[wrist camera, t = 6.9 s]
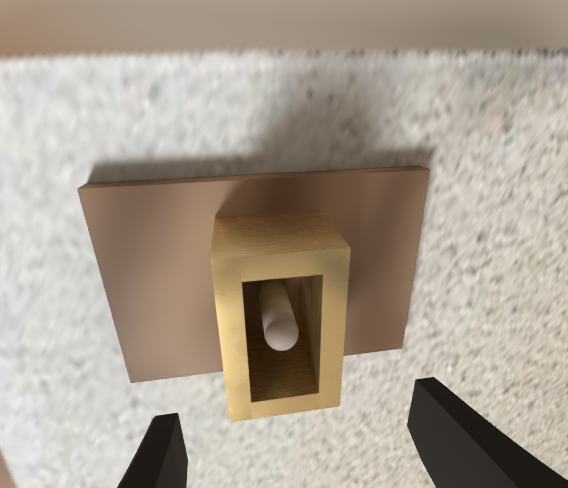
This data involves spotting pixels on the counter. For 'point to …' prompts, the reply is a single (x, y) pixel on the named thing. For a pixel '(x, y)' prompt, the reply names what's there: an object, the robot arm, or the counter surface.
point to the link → (312, 311)
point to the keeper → (256, 294)
